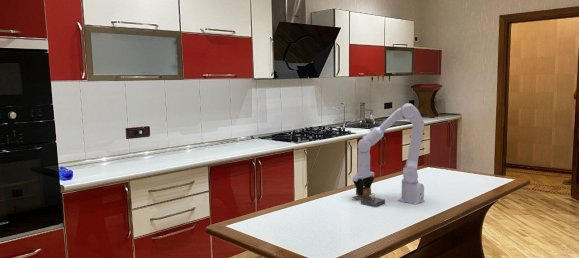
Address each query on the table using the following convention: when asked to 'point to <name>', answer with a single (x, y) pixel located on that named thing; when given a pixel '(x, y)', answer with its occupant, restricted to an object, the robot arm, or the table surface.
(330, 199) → the table surface
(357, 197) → the mat
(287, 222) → the table surface
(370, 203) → the vise block
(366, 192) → the brown wooden box
